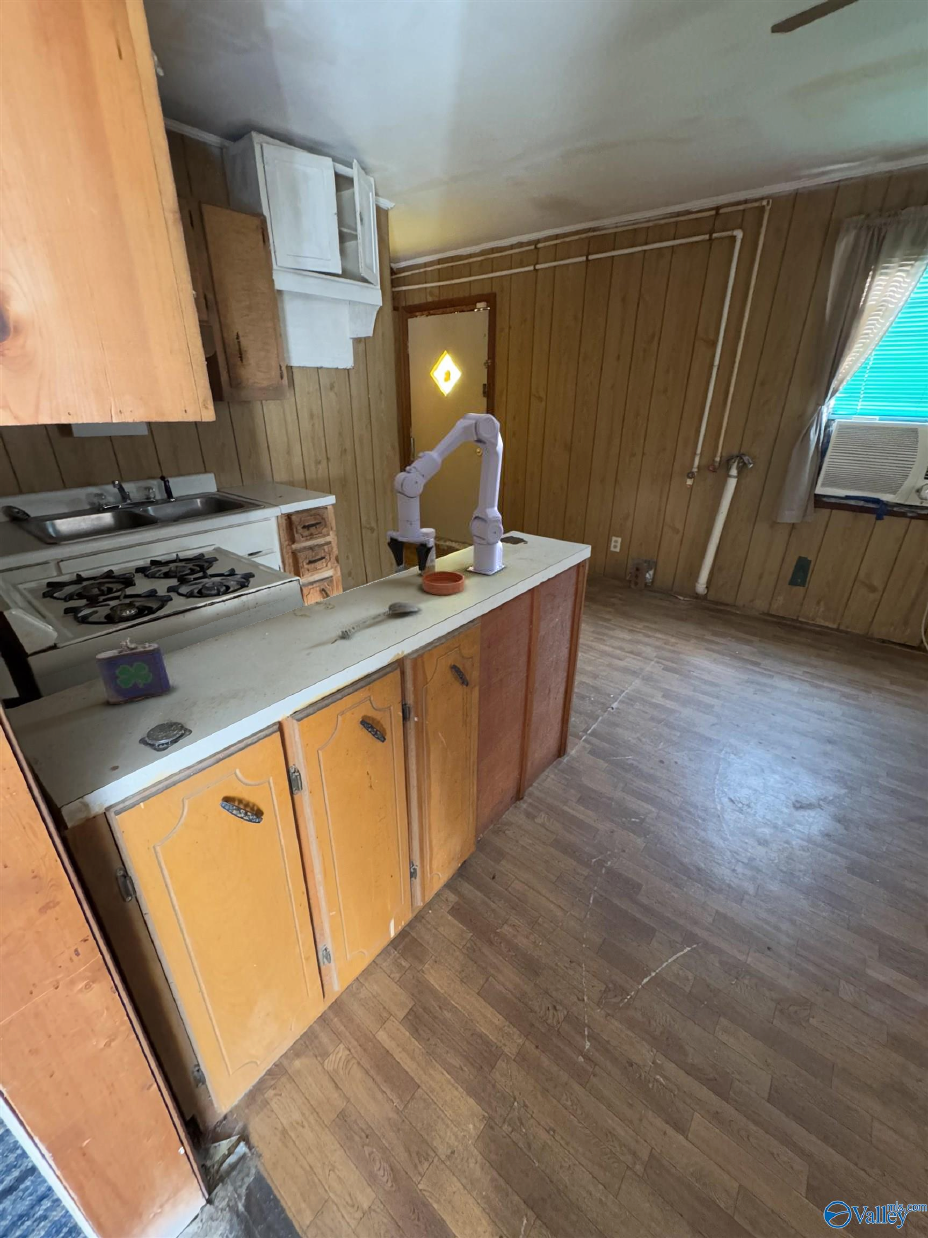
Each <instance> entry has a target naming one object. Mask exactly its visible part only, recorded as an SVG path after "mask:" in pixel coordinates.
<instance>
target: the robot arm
mask: <svg viewBox="0 0 928 1238" xmlns="http://www.w3.org/2000/svg"><path fill="white" fill-rule="evenodd" d="M500 425H501V423H500V422H499V421H498V420H497V419H496V418H495V417H494V416H493V415H492V414H490V413H485V414H482V413H473V412H469V413H466V414H464V416H462V418H460V419H459V420H458V421H456V423H455V426H454V427H453V428H452V429H451V430H450V431H449V432H448V434H447V435H446V436H445V437H444V438H443V439H442V440H441V441H440V442H439V443H438V444H437V445H436V446H435V447H434V449H432V450H431V451H430V450H425V451H424V452H419V454H417V459H416V460H415V461H414V462H412V463H411V465H408V466H407V467H405V471H403V472H399V473H398V474H397V475H396V476H395V478H394V480H393V481H394V482H393V483H392V486H393V489H394V491H395V492H396V493H397V517H398V518H397V519H398V531H393V530H390V531H387V532H386V540H389V541H388V542H387V543H386V545H387V547H388V548H389V550H390V551H391V553H392V556H393V558H394V561H395V564H396V567H401V566H403V565H404V550H405V543H409V544H416V545H417V546H415V547H414V549H415V553H416V557H417V567H418V568H417V569H418V571H419V572H421V571H423V570H425V568H426V563H427V559H428V556H429V554H430V552H431V550H432V548H433V545H434V538H430V537H427V536H424V535H421V534H420V529H421V514H420V513H421V510H420V509H421V507H420V495H421V494H422V493H423V491H424V485H425V484H426V483H427V482H428V481H429V480H430V479H432V477H433V476H434V475H435V474H436V473H437V472H438V471H440V469H441V467H442V461H443V460H445V458H447V456H449V455H450V454H451V453H452V452H453V451H454V450H456V449H458V447H459V446H461V444H462V443H465V442H474V443H475V444H476V445H477V446H478V447H479V448H480V449H481V450H482V453H481V455H482V456H481V467H480V468H481V469H480V481H479V492H478V505H477V508H476V509H475V510H474V511H473V513H472V519H471V521H470V523H469V532H470V534H471V535H472V539H473V557H472V559H473V560H472V561H473V562H472V563H473V565H472V566H471V567H468V568H467V571H469V572H473V573H478V574H484V575H488V576H491V575H493V574H494V573H496V572H499V571H500V570H501V569H503V568H505V565H504V564H503V543H502V541H501V539H502V537H503V535H504V528H503V524H502V523H503V522H502V521H503V520H502V519H503V518H502V515H501V513H500V512H499V510H498V502H499V493H500V492H499V491H500V482H501V481H500V480H501V470H502V462H503V461H502V459H503V449H504V444H503V439H502V436H501V433H500V428H501V427H500Z"/></svg>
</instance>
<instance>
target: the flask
mask: <svg viewBox="0 0 928 1238" xmlns="http://www.w3.org/2000/svg"><path fill="white" fill-rule="evenodd" d="M130 640H131V639H130V637H127V638H124V639H121V640H120V641H121V643H119V646H120V647H121V648H117V649H114V650H108V651H105V652H101V653H99V654H97V655H96V656H95V657H94V658H95V663H96V665H97V667H98V670H99V675H100V676H101V679H102V684H103V686H104V689H105V693H106V695H107V699H108V701H109V703H110V704H111V705H115V704H116V705H117V704H124V703H125V702H133V701H138V700H142V699H144V698H151V697H157V696H161V695H166V694H168V693H170V692H171V691H172V688H171V687H172V686H171V684H170V679H169V676H168V672H167V668H166V664H165V662H164V656H163V654H162V649H161V648H160V646H159V644H156V643H148V642H147V643H144V644H137V643H133V642H132V643H131V642H130Z"/></svg>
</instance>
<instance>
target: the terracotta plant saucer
mask: <svg viewBox="0 0 928 1238" xmlns="http://www.w3.org/2000/svg"><path fill="white" fill-rule="evenodd" d="M421 587H422V589H423V590H424V591H425V592H426V593H428V594H432V595H438V596H448V595H449V596H451V595H456V594H458V593H460V592H462V591H463V590H464V589H465V588H466V577H465V575H464V574H462V573H460V572H456V571H453V570H452V571H451V570H435V572H430V573H427V574H425V575H424V576H423V575H422V576H421Z"/></svg>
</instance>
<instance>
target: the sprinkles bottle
mask: <svg viewBox="0 0 928 1238" xmlns="http://www.w3.org/2000/svg"><path fill="white" fill-rule="evenodd" d="M420 534H421V535H424V536H427V537H430V538H434V545H433V548H432V550H431V552H430V554H429V556H428V559H427V563H426V568H425V570H423V571H420V575H421V576H422V577H423V576H424V575H425V574H427V573H430V572H435V571H436V530H435V529H434V528H430V527H424V528H423V527H422V528H420Z"/></svg>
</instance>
